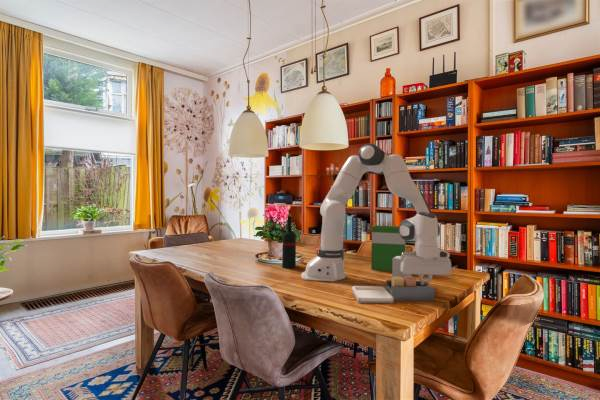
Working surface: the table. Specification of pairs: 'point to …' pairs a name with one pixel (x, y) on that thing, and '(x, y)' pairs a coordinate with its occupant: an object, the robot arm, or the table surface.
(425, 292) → the slot block
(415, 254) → the robot arm
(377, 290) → the tray
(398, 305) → the table surface
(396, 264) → the supplement box
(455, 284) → the table surface
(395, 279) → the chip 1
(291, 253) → the wine bottle
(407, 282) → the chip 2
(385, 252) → the hardback book
